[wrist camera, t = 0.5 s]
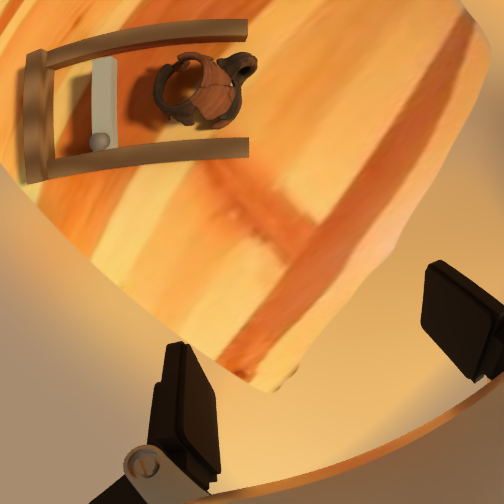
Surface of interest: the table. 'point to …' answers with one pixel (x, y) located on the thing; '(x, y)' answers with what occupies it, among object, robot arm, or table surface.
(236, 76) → the pottery mug
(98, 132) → the gray rectangular bar
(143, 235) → the table surface
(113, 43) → the frame
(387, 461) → the robot arm
